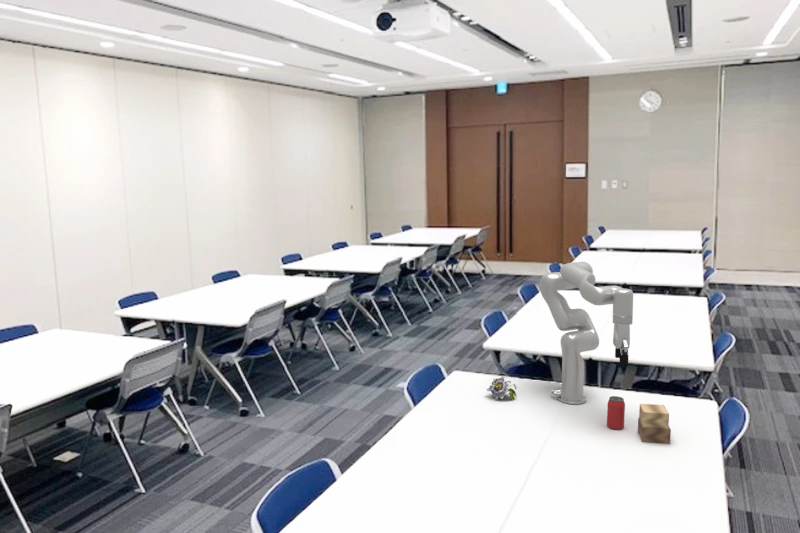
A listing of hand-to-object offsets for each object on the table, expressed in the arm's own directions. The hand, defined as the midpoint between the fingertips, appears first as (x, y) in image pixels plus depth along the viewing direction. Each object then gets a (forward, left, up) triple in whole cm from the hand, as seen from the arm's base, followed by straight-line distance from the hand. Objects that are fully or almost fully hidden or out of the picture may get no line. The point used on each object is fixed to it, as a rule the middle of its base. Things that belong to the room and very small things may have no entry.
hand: (621, 361), depth 251 cm
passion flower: (-48, +22, -27) cm, 59 cm away
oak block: (+11, -12, -21) cm, 26 cm away
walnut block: (+11, -12, -27) cm, 31 cm away
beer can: (-2, -4, -27) cm, 27 cm away
